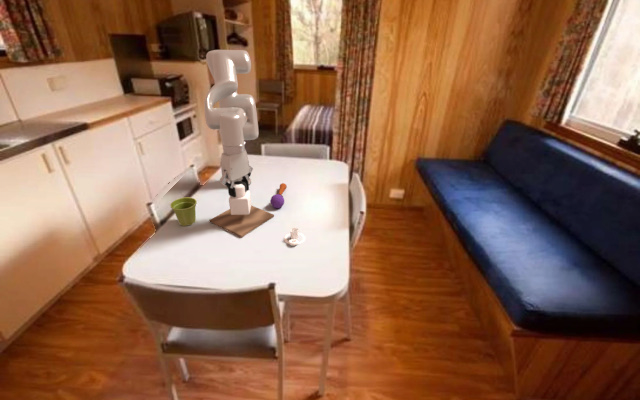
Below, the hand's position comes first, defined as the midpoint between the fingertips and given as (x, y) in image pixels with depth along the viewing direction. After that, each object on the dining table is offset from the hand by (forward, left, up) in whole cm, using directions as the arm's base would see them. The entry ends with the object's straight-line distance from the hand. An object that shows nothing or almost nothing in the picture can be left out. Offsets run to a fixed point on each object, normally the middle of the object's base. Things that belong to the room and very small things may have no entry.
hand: (239, 192), depth 119 cm
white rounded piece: (+23, 0, -13) cm, 27 cm away
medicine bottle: (0, 0, -8) cm, 8 cm away
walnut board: (0, 0, -12) cm, 12 cm away
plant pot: (-16, -14, -13) cm, 25 cm away
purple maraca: (+1, +22, -13) cm, 26 cm away
